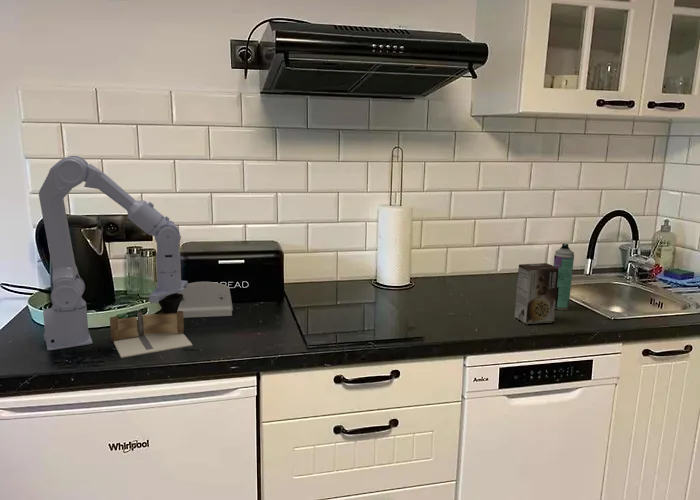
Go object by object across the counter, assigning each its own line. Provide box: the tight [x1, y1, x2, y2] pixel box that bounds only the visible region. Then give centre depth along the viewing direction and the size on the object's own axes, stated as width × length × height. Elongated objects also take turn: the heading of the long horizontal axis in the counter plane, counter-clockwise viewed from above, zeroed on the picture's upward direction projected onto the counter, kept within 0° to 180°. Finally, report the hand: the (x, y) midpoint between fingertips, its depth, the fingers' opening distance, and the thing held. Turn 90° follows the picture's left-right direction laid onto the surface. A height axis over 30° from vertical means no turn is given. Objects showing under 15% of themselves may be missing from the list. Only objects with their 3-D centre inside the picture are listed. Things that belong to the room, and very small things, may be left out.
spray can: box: [553, 243, 575, 308], centre depth 168 cm, size 6×6×20 cm
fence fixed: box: [109, 316, 138, 342], centre depth 135 cm, size 6×2×6 cm, turn 121°
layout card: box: [112, 332, 193, 359], centre depth 134 cm, size 16×14×1 cm
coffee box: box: [514, 262, 559, 323], centre depth 155 cm, size 9×6×16 cm
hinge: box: [178, 281, 234, 319], centre depth 156 cm, size 17×5×10 cm, turn 102°
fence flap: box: [137, 311, 185, 336], centre depth 138 cm, size 11×2×6 cm, turn 104°
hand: (170, 322), depth 140 cm, fingers closed
